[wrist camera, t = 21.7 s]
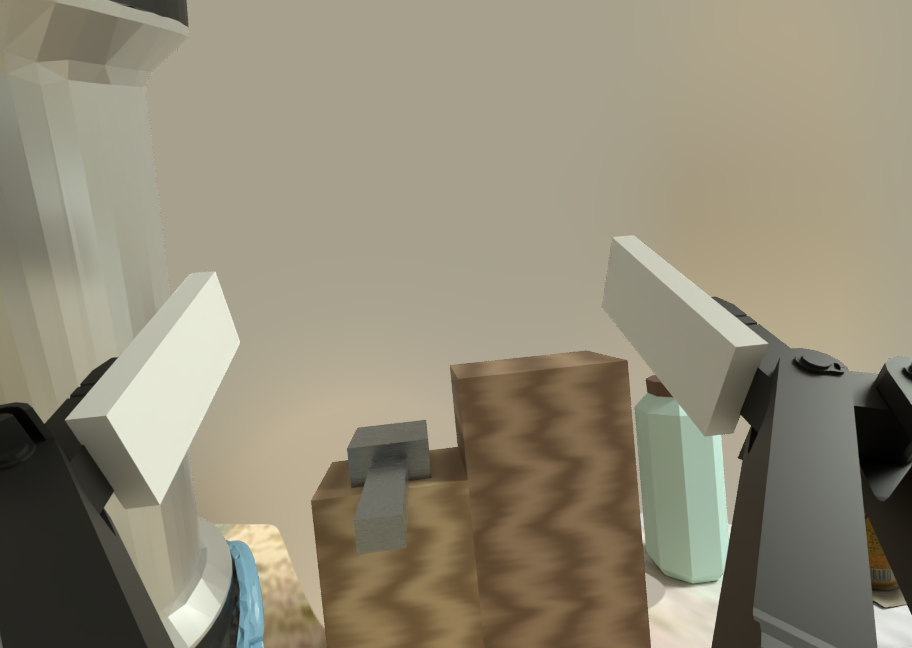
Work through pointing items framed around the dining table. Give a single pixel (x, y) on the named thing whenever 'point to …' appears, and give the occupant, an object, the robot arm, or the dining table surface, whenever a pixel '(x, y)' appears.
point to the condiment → (881, 572)
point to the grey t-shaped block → (386, 481)
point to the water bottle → (680, 489)
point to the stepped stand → (503, 521)
